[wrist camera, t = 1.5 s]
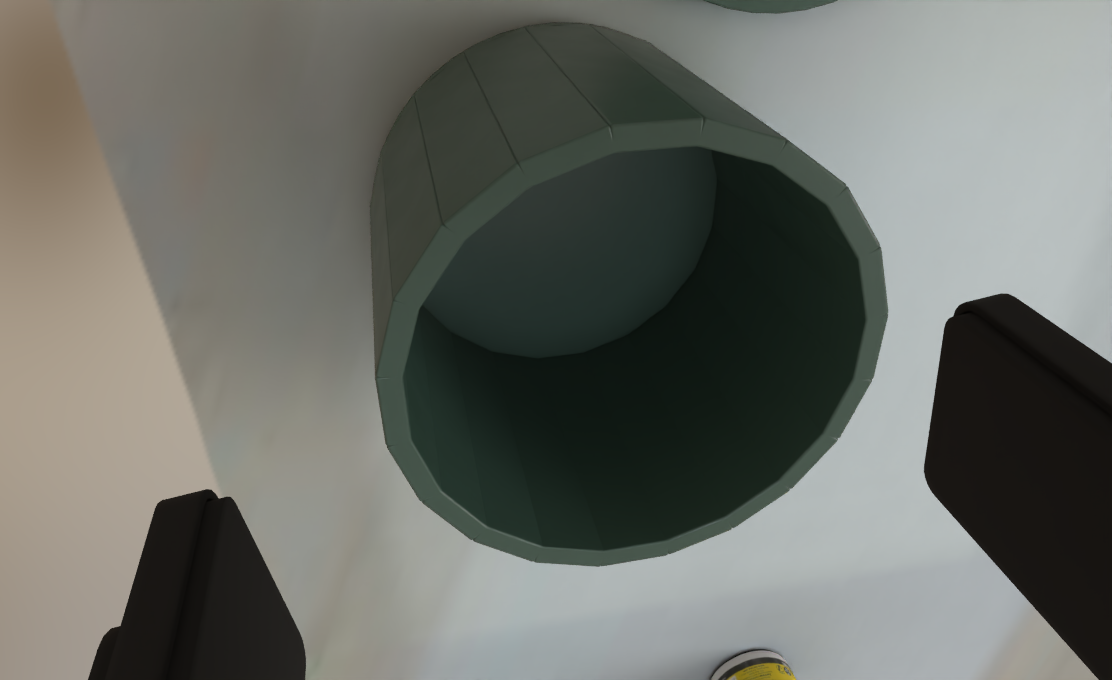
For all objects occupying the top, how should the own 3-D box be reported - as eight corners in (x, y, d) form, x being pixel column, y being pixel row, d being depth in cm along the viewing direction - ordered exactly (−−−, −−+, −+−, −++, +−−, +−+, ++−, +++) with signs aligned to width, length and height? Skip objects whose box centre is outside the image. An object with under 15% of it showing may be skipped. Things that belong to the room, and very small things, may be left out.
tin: (745, 12, 30) (940, 99, 20) (710, 343, 37) (839, 526, 27) (345, 34, 27) (337, 145, 17) (395, 382, 35) (410, 599, 25)
